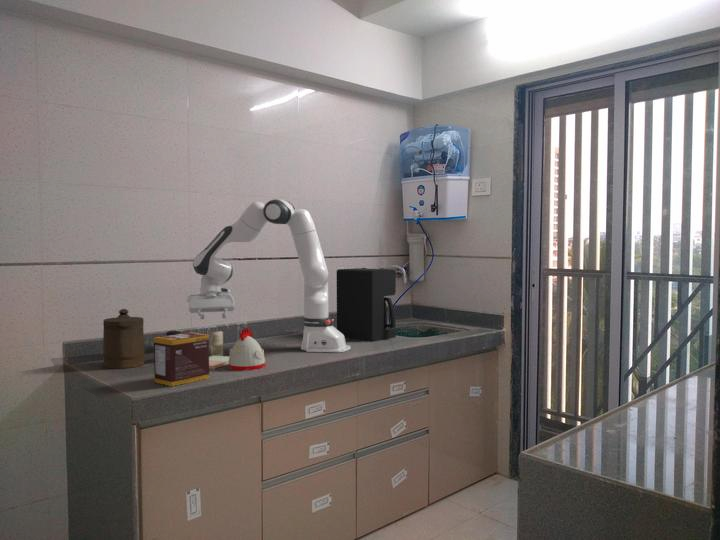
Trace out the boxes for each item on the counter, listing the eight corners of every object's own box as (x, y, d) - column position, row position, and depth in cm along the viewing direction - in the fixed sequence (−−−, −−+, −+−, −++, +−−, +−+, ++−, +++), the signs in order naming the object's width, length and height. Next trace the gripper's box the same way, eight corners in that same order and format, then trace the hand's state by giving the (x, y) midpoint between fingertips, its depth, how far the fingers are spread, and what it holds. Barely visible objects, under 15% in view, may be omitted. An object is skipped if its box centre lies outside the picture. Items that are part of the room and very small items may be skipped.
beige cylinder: (225, 354, 242) (225, 331, 242) (218, 356, 238) (218, 333, 237) (215, 354, 244) (215, 331, 244) (208, 356, 239) (208, 332, 239)
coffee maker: (403, 337, 286) (403, 268, 285) (378, 342, 272) (378, 270, 270) (361, 332, 305) (361, 267, 303) (336, 336, 290) (336, 268, 289)
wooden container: (139, 359, 232) (138, 306, 232) (148, 365, 220) (147, 309, 219) (100, 363, 224) (99, 308, 223) (107, 370, 212) (106, 312, 211)
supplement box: (210, 378, 199) (209, 334, 198) (171, 387, 186) (170, 340, 186) (192, 374, 205) (191, 331, 204) (153, 382, 193) (153, 337, 192)
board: (238, 360, 231) (238, 357, 231) (213, 369, 214) (213, 365, 214) (213, 358, 235) (213, 355, 235) (186, 367, 218) (186, 363, 218)
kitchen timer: (221, 369, 214) (220, 329, 213) (241, 362, 227) (240, 325, 226) (253, 371, 209) (252, 331, 209) (271, 364, 222) (271, 326, 221)
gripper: (187, 290, 254) (189, 314, 245) (233, 289, 261) (237, 312, 253) (186, 299, 258) (188, 323, 250) (232, 298, 266) (235, 321, 257)
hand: (213, 318), depth 251 cm, fingers open, 8 cm apart
